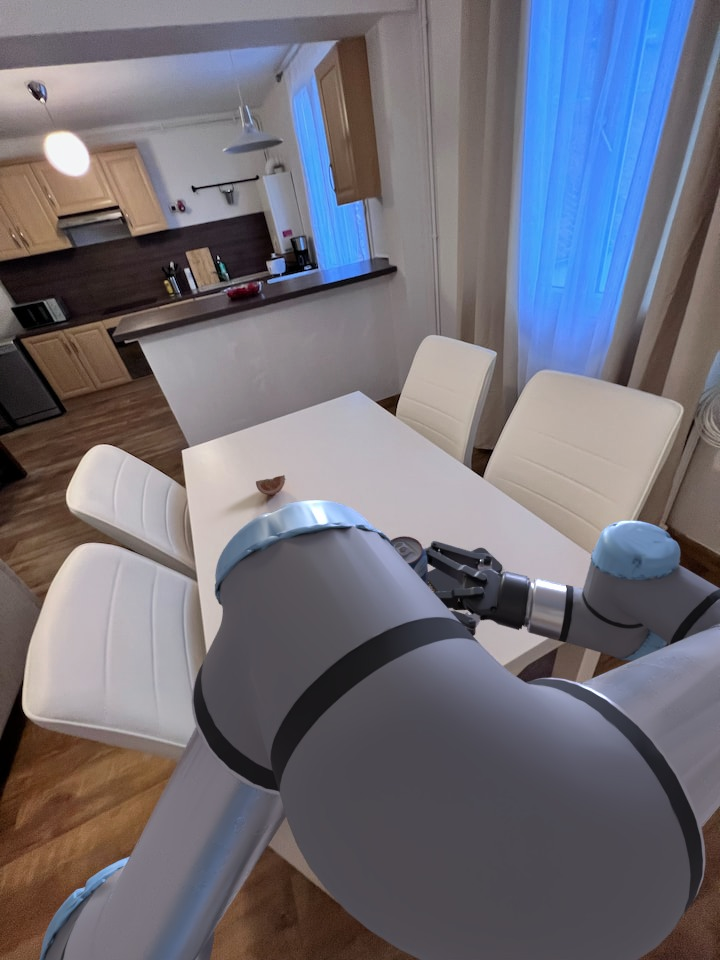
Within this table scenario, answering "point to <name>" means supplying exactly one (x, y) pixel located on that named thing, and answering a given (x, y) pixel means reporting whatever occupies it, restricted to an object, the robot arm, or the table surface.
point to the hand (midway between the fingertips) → (377, 566)
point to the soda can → (413, 555)
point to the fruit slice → (271, 485)
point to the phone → (448, 583)
